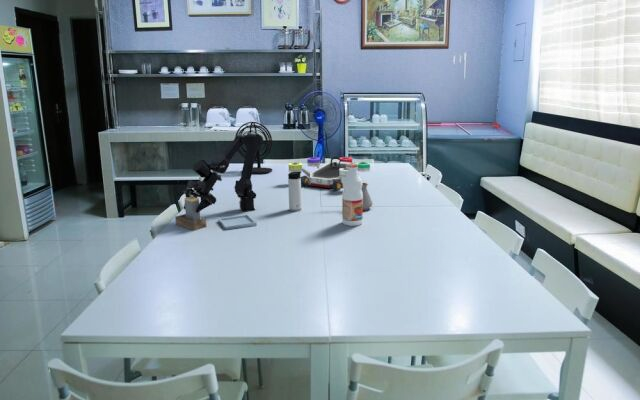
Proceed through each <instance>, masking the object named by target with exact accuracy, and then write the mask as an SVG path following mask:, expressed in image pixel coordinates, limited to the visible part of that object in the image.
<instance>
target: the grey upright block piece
mask: <svg viewBox="0 0 640 400" xmlns="http://www.w3.org/2000/svg"><path fill="white" fill-rule="evenodd" d="M199 199H200V197H197V198H196V197H187V198H186V197H184V204H185V209H184V210H185V214H186V219H188V220H191V221H196V220H200V219H201V211H200V212H198V213H196V212H195V211H196V209H197V207H198V205H199V203H200V200H199Z"/></svg>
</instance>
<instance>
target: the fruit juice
mask: <svg viewBox="0 0 640 400" xmlns="http://www.w3.org/2000/svg"><path fill="white" fill-rule="evenodd" d="M356 163H357V162H356ZM356 163H353V162H352V163H349V164H347V168H348V171H347V175H346V177H345V178H344V180H343V186H342V188H343V191H342V197H341V198H342V199H341V201H342V202H341V203H342V206H341V207H342V208H341V209H342V211H341V212H342V213H341V214H342V218H341V219H342V224H343V225H345V226H350V227H351V226H352V227H353V226H360V225H362V224H363V220H364V219H363V218H364V217H363V211H364V210H363V193H362V190H361V188H362V183H363V180H362V178H361V177H360V176H359V172H358V171H357V168H358V164H356Z"/></svg>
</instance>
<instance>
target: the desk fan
mask: <svg viewBox="0 0 640 400" xmlns="http://www.w3.org/2000/svg"><path fill="white" fill-rule="evenodd" d="M248 124H250V125H248ZM246 125H247V126H246ZM244 126H245V127H244ZM252 127H253V128H254V129H253V128H252ZM248 128H249V130H247V131H246V132H245V130H246V129H248ZM258 132H260V133H261V134H262V135H263V136H264V137H263V136H262V135H260V134H259V135H260V136H261V138H262V142H261V145H260V148H259V149H258V150H257V151H256V154H255V159H254V162H256V165H257V166H256V167H255V166H253V170H252V174H255V175H256V174H257V175H263V174H269V173H271V172H272V171H273V168H270V167H262V166H261V164H262V163H261V160H264V159H266V157H268V156H269V154H270V153H271V151H272V148H273V138H272V135H271V132H270V131H269V129H268V128H267V127H266V126H265V125H263V124H262V123H260V122H257V121H249V122H246V123H243V124H242V125H240V126H239V128H238V129H237V130H236V133H235V136H237V135H247V134H249V133H253V134H258ZM264 139H265V140H264ZM243 145H245V143H244V144H243ZM243 145H242V146H241V147H240V149H239V150H238V151H237V153H239V155H240V156H242V157H243V159H245V154H246V148H244V146H243ZM263 145H264V146H263ZM262 146H263V148H262ZM264 149H265V150H264ZM263 150H264V152H263V153H261V152H262V151H263ZM265 154H266V155H265ZM264 155H265V156H264ZM263 156H264V157H263ZM261 157H262V158H261Z"/></svg>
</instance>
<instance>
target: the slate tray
mask: <svg viewBox="0 0 640 400" xmlns="http://www.w3.org/2000/svg"><path fill="white" fill-rule="evenodd" d="M217 221H219V222H218V223H219V224H220V226H222V228H223V229H224V230H225V231H229V230H236V229H242V228H250V227H256V226H257V225H258V224H257V221H255V219H254V218H252V217H251V216H250V215H249V214H241V215H234V216H226V217H220V218H217Z"/></svg>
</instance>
